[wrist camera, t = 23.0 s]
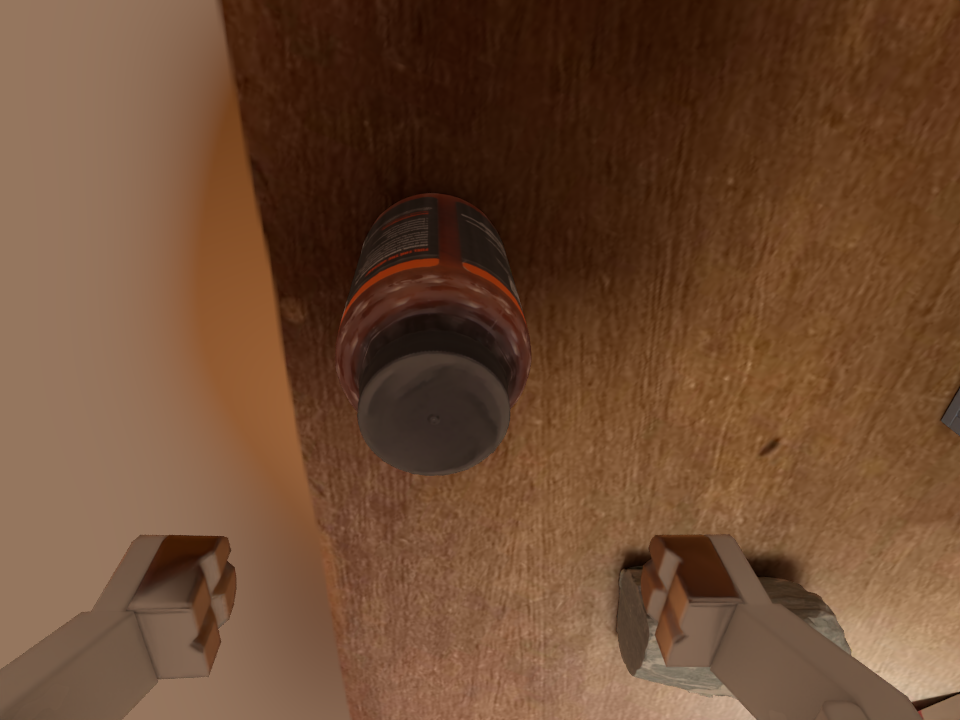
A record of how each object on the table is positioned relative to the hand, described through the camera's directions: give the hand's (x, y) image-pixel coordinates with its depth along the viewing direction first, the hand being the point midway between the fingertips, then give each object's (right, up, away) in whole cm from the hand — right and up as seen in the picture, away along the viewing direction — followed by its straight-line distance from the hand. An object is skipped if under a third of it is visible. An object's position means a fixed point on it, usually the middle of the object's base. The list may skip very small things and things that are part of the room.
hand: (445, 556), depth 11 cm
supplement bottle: (-1, +8, +14) cm, 16 cm away
